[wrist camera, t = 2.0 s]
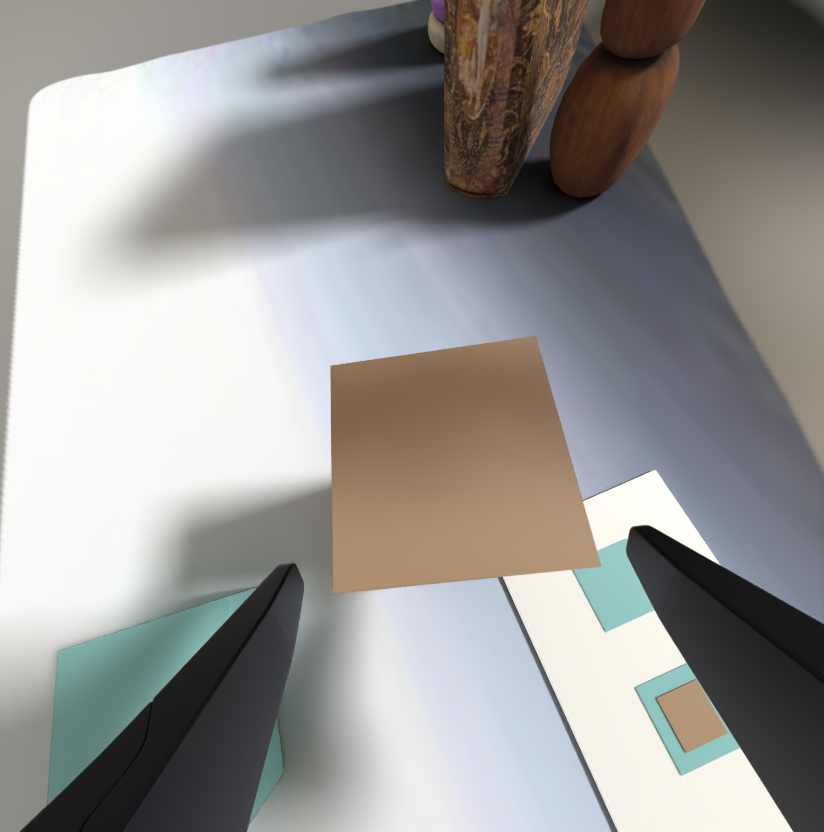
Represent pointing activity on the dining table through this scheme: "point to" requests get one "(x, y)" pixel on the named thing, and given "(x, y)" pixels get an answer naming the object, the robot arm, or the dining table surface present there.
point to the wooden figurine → (618, 93)
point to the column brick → (451, 470)
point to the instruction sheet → (638, 682)
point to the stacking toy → (437, 25)
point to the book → (501, 84)
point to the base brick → (132, 688)
